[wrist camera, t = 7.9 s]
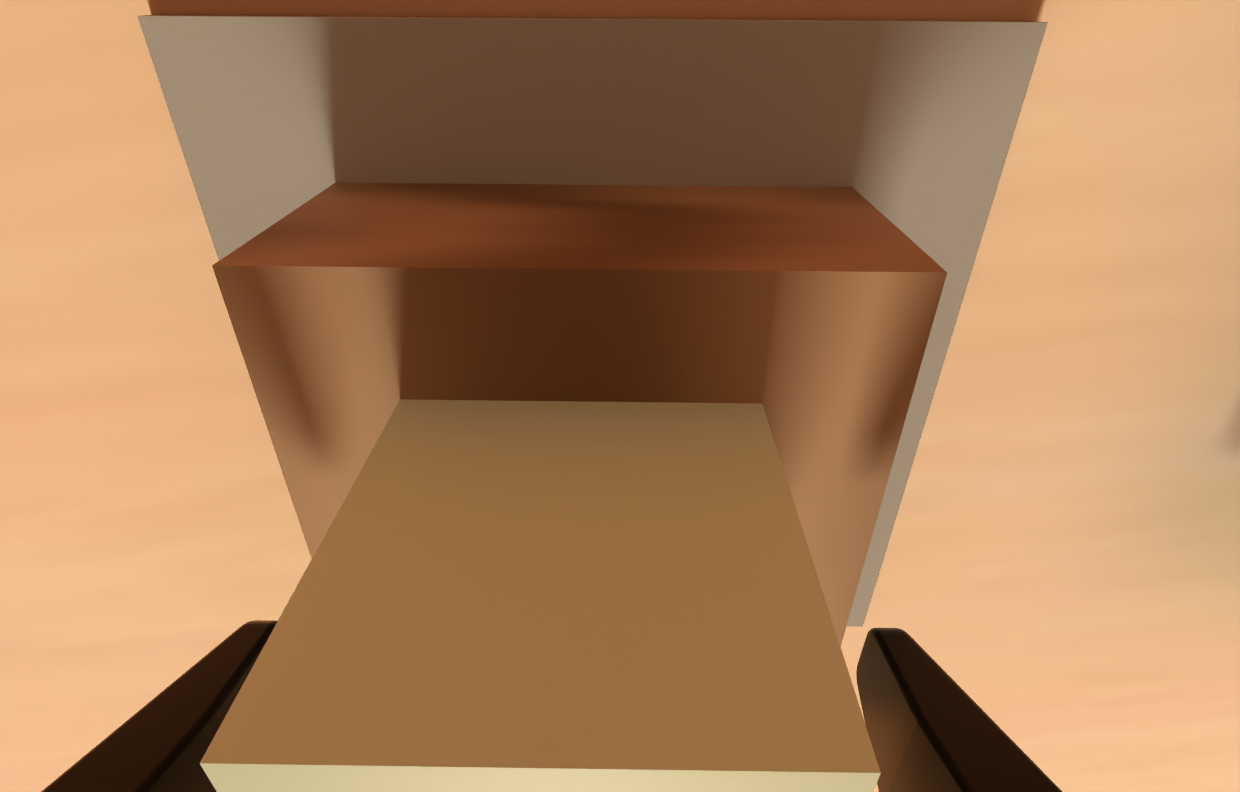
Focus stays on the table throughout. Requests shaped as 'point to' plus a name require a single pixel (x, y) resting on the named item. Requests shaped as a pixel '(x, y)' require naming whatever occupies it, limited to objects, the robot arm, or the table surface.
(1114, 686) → the table surface
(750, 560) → the cube
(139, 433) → the table surface
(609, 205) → the plinth
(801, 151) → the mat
